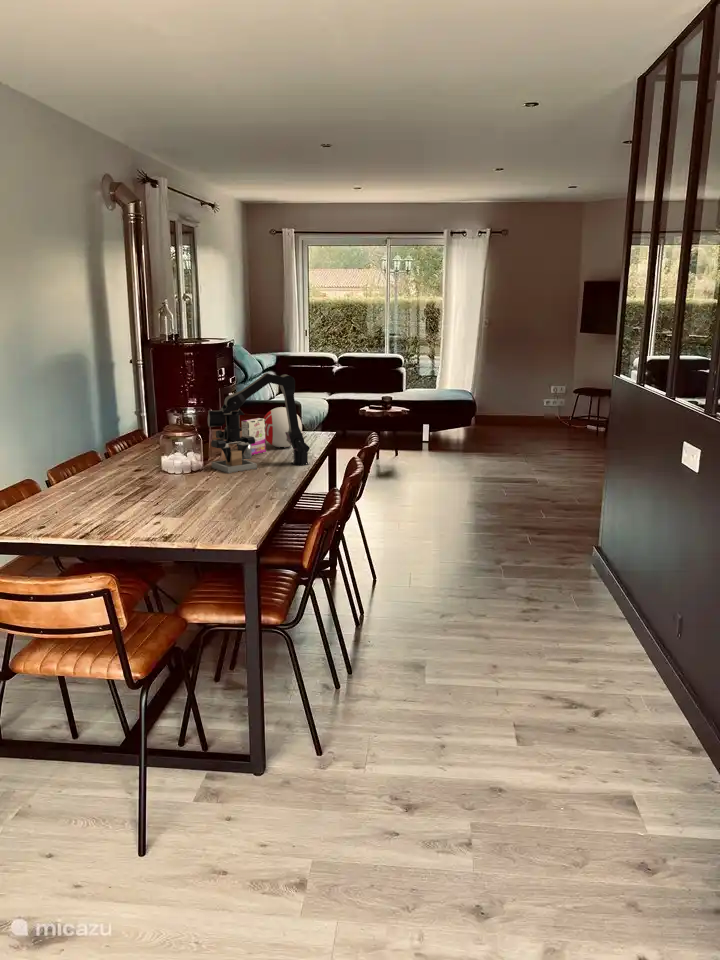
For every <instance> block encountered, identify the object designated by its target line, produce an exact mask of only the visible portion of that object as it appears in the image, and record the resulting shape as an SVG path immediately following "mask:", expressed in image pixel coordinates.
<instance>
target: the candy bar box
mask: <svg viewBox="0 0 720 960" xmlns="http://www.w3.org/2000/svg"><path fill="white" fill-rule="evenodd" d="M242 436H252V437H254V438H255V444H251V449H252V455H253V456H255V455H254V454H258V453H262V454H264V453H263V452H266V453H267V444H266V443H267V441H266V438H265V419H264V418H260V417H257V418H251V419H246V420H245V419H244V420H241V437H242ZM247 443H248V442H247ZM258 455H259V454H258Z"/></svg>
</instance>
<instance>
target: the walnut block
mask: <svg viewBox="0 0 720 960" xmlns="http://www.w3.org/2000/svg"><path fill="white" fill-rule="evenodd" d="M226 464H227V465H230V466H236V465H242V451H240V450H238V448H237V449H236V448H235V449H231V452H230V462H227V459H226Z"/></svg>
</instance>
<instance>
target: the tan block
mask: <svg viewBox="0 0 720 960" xmlns="http://www.w3.org/2000/svg"><path fill="white" fill-rule="evenodd" d="M223 460H226V457H225V454H224V452H223V450H222V449H221V461H223Z"/></svg>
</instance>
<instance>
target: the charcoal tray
mask: <svg viewBox="0 0 720 960" xmlns="http://www.w3.org/2000/svg"><path fill="white" fill-rule="evenodd" d="M257 464H258V463H256V462H253V461H250V460H244V459H242V465H236V466H230V465H227V464H226V460H223V461H222V460H217V461H216V460H215V461H211V468H212V469H215V470H217V471H220V470H221V471H220V472H224V473H225V474H226V473H227V474H233V473H232V472H234V473H239V472H238V471H241V472H245V471H244V470H247V471H251V470H250V469H254V470H257V469H258V465H257Z"/></svg>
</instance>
